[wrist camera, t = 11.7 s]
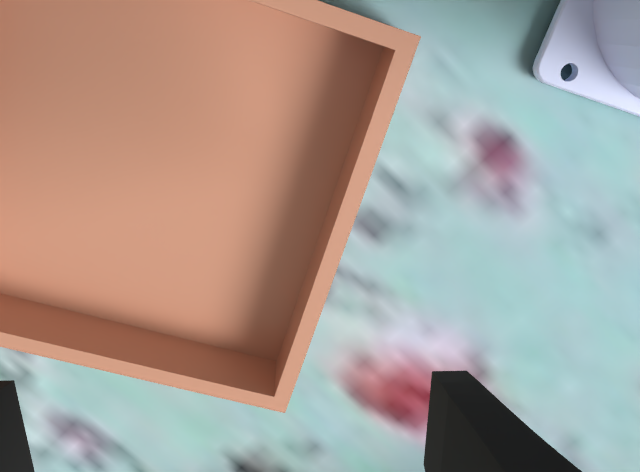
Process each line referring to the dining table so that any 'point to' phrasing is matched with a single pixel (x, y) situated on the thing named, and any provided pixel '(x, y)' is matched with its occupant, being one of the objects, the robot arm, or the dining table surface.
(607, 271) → the dining table surface
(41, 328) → the terracotta tray
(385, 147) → the dining table surface
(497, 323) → the dining table surface
